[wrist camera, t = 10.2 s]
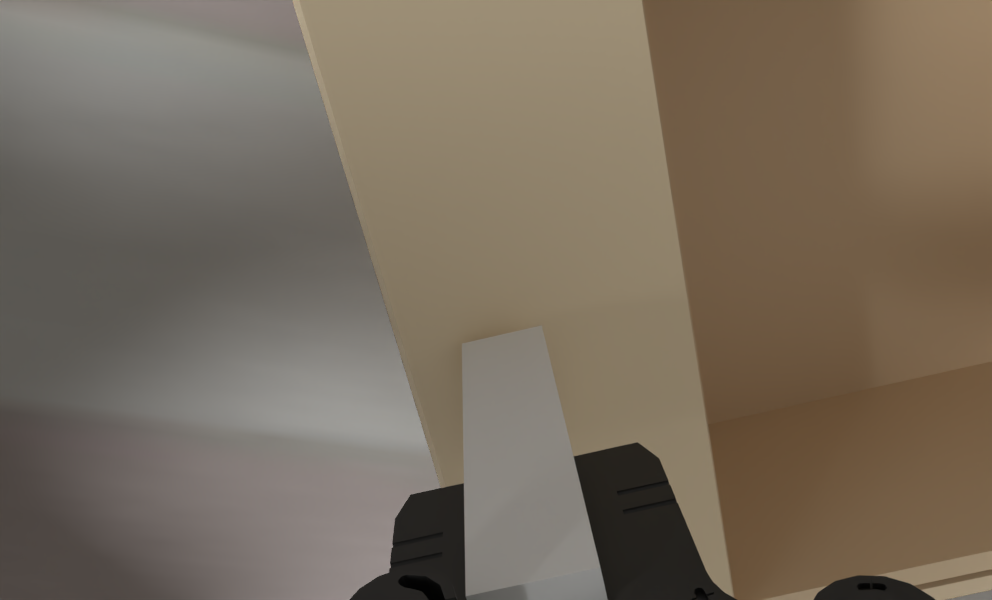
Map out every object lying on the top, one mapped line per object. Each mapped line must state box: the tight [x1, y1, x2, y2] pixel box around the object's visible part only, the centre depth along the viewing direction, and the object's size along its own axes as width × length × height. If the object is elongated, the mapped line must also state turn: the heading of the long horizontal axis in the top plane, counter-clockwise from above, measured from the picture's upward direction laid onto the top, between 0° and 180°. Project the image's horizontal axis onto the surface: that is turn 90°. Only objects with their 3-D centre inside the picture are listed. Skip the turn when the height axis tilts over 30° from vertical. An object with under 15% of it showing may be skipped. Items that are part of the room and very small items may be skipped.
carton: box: [642, 0, 992, 600], centre depth 22 cm, size 15×21×9 cm
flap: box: [292, 0, 733, 597], centre depth 16 cm, size 1×17×6 cm
